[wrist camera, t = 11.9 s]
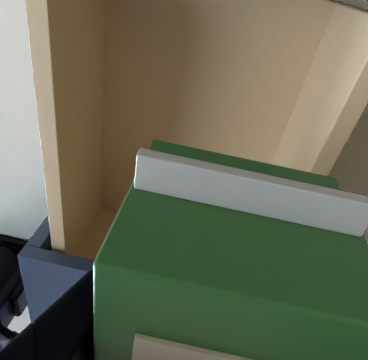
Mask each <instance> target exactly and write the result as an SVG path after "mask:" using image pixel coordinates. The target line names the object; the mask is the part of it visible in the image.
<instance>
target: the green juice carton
mask: <svg viewBox="0 0 368 360" xmlns="http://www.w3.org/2000/svg"><path fill="white" fill-rule="evenodd" d="M367 228H368V196H364V195H359V194H355V193H350V192H345V191H341V190H340V188H339V186H338V184H337V182H336V180H335V178H333V177H329V176H325V175H320V174H315V173H311V172H306V171H301V170H297V169H292V168H287V167H282V166H278V165H273V164H268V163H264V162H259V161H254V160H250V159H245V158H240V157H236V156H231V155H226V154H221V153H217V152H212V151H207V150H203V149H198V148H193V147H189V146H184V145H179V144H175V143H170V142H165V141H160V140H156V139H155V140H153V141H152V142H151V144H150V146H149V148H148V149H144V148H140V150H139V152H138V153H137V156H136V167H135V178H134V180H133V182H132V184H131V186H130V188H129V190H128V192H127V194H126V196H125V198H124V200H123V202H122V205H121V207H120V209H119V211H118V213H117V215H116V217H115V219H114V221H113V223H112V225H111V227H110V229H109V232H108V234H107V236H106V238H105V240H104V242H103V244H102V246H101V248H100V250H99V252H98V254H97V256H96V259H95V261H94V263H93V313H94V360H368V246H367V244H366V242H365V239H364V237H363V234H364V232H365V231H366V229H367Z"/></svg>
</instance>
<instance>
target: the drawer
mask: <svg viewBox="0 0 368 360" xmlns="http://www.w3.org/2000/svg"><path fill="white" fill-rule="evenodd" d="M25 6H26V15H27V24H28V34H29V43H30V52H31V61H32V70H33V80H34V89H35V98H36V107H37V116H38V125H39V135H40V144H41V153H42V162H43V171H44V181H45V190H46V199H47V208H48V217H49V227H50V236H51V245H52V251H54V252H59V253H63V254H68V255H72V256H76V257H81V258H85V259H89V260H94V261H95V259H96V256H97V254H98V252H99V250H100V248H101V246H102V244H103V242H104V240H105V238H106V236H107V234H108V232H109V229H110V227H111V225H112V223H113V221H114V219H115V217H116V215H117V213H118V211H119V209H120V207H121V205H122V202H123V200H124V198H125V196H126V194H127V192H128V190H129V188H130V186H131V184H132V182H133V180H134V178H135V167H136V156H137V153H138V152H139V150H140V148H144V149H148V148H149V146H150V144H151V142H152V141H153V140H155V139H156V140H160V141H165V142H170V143H175V144H179V145H184V146H189V147H193V148H198V149H203V150H207V151H212V152H217V153H221V154H226V155H231V156H236V157H240V158H245V159H250V160H254V161H259V162H264V163H268V164H273V165H278V166H282V167H287V168H292V169H297V170H301V171H306V172H311V173H315V174H320V175H325V176H329V174H330V172H331V170H332V168H333V166H334V165H335V163H336V161H337V159H338V157H339V155H340V154H341V152H342V150H343V148H344V146H345V145H346V143H347V141H348V139H349V137H350V135H351V134H352V132H353V130H354V128H355V126H356V125H357V123H358V121H359V119H360V117H361V115H362V114H363V112H364V110H365V108H366V106H367V105H368V10H364V9H361V8H358V7H355V6H352V5H349V4H345V3H340V2H335V1H331V0H25Z"/></svg>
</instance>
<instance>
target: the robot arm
mask: <svg viewBox="0 0 368 360" xmlns="http://www.w3.org/2000/svg"><path fill="white" fill-rule="evenodd" d="M26 244H27V241H22V240H18V239H14V238H9V237H5V236H0V360H94V313H93V267H92V268H91V269H90V270H89V271H88V272H86V273H85V274H84V275H83V276H82V277H81V278H80V279H79V280H78V281H77V282H76V283H74V284H73V285H72V286H71V287H70V288H69V289H68V290H67V291H66V292H65V293H63V294H62V295H61V296H60V297H59V298H58V299H57V300H56V301H55V302H54V303H53V304H51V305H50V306H49V307H48V308H47V309H46V310H45V311H44V312H43V313H42V314H40V315H39V316H38V317H37V318H36V319H35V320H34V323H30V324H29V325H28V326H27V327H26V328H25V329H24V330H23V331H22V332H21V333H20V334H19V333H17V332H15V331H11V330H10V329H8V328H7V327H8V325H9V324H10V322H11V321H12V319H13V317H14V316H20V315H21V314H22V313H23V311H24V310H25V308H26V306H27V300H26V295H25V290H24V285H23V281H22V276H21V271H20V266H19V262H18V257H17V255H18V254H19V253H20V251H21V250H22V249H23V247H24V246H25V245H26Z"/></svg>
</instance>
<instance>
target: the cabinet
mask: <svg viewBox="0 0 368 360" xmlns="http://www.w3.org/2000/svg"><path fill="white" fill-rule="evenodd" d="M17 257H18V262H19V266H20V271H21V276H22V281H23V285H24V290H25V295H26V300H27V305H28V309H29V314H30V319H31V323H34V320H35V319H36V318H37V317H38V316H39V315H40V314H42V313H43V312H44V311H45V310H46V309H47V308H48V307H49V306H50V305H51V304H53V303H54V302H55V301H56V300H57V299H58V298H59V297H60V296H61V295H62V294H63V293H65V292H66V291H67V290H68V289H69V288H70V287H71V286H72V285H73V284H74V283H76V282H77V281H78V280H79V279H80V278H81V277H82V276H83V275H84V274H85V273H86V272H88V271H89V270H90V269H91V268H92V267H93V263H94V260H89V259H85V258H81V257H76V256H72V255H68V254H63V253H59V252H54V251H52V245H51V236H50V227H49V217H48V216H47V217H46V219H45V220H44V221H43V223H42V224H41V225H40V227H39V228H38V229H37V231H36V232H35V233H34V235H33V236H32V237H31V239H30V240H29V241H28V242H27V244H26V245H25V246H24V247H23V249H22V250H21V251H20V253H19V254H18V255H17Z"/></svg>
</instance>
